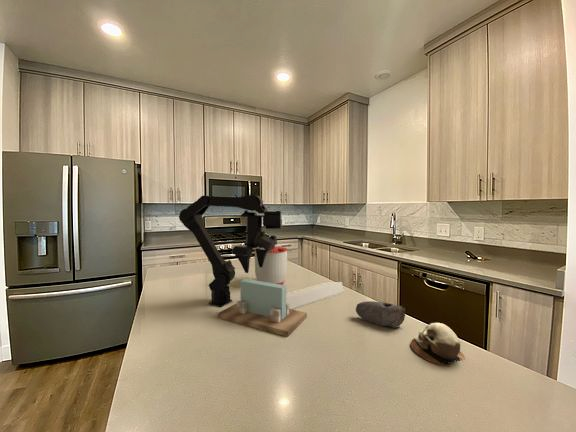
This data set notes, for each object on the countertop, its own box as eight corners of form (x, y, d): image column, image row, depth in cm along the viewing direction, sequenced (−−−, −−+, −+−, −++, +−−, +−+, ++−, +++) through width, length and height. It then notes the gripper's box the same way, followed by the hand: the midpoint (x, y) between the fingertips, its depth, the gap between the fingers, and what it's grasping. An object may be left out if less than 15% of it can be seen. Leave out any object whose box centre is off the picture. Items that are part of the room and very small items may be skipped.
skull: (397, 341, 66) (416, 309, 68) (418, 360, 69) (436, 329, 71) (438, 366, 55) (460, 327, 57) (462, 389, 58) (481, 351, 60)
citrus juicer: (266, 277, 128) (266, 239, 127) (293, 283, 118) (294, 242, 117) (244, 285, 115) (244, 242, 115) (273, 292, 105) (273, 246, 104)
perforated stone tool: (352, 319, 81) (353, 299, 80) (358, 314, 85) (358, 294, 85) (402, 333, 72) (402, 310, 72) (405, 326, 76) (406, 304, 76)
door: (240, 309, 84) (240, 281, 83) (245, 306, 87) (245, 278, 86) (281, 320, 77) (281, 288, 76) (286, 316, 79) (286, 285, 79)
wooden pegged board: (218, 317, 81) (218, 302, 81) (243, 302, 94) (243, 290, 94) (288, 336, 70) (288, 319, 69) (306, 317, 82) (307, 302, 82)
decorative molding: (265, 312, 92) (280, 314, 84) (263, 299, 93) (278, 300, 85) (327, 293, 113) (344, 293, 106) (325, 282, 114) (341, 281, 107)
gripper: (258, 232, 80) (258, 279, 80) (284, 227, 96) (284, 267, 97) (231, 230, 85) (231, 275, 85) (261, 226, 101) (260, 264, 102)
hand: (254, 270), depth 92 cm, fingers open, 9 cm apart
